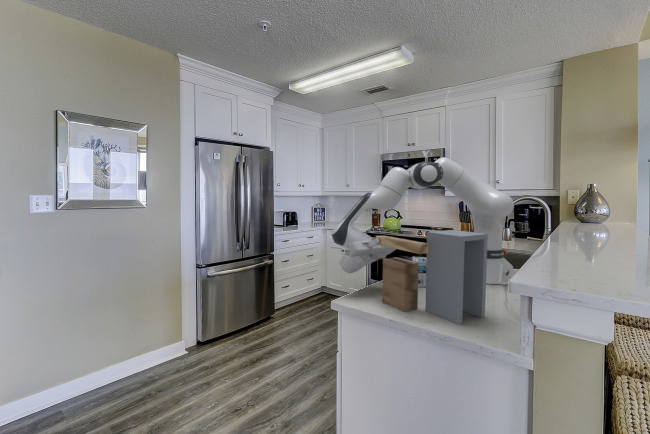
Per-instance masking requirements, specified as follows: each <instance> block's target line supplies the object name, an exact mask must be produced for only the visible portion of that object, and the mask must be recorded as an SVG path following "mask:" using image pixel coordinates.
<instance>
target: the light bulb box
mask: <svg viewBox="0 0 650 434" xmlns="http://www.w3.org/2000/svg"><path fill="white" fill-rule="evenodd" d="M426 258H427V256H426V257H425V256H412V258H411V261H413V262H417V263H418V288H419V287H420V288H426Z"/></svg>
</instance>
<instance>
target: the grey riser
mask: <svg viewBox="0 0 650 434" xmlns="http://www.w3.org/2000/svg"><path fill="white" fill-rule="evenodd" d="M487 240H488V234H483V233H474V231H466V230H465V231H463V230H458V231H457V230H455V229H448V230H438V231H437V230H436V231H426V243H427V244H428V253H426V257H427V258H426V287H425V306H424V307H425V311H426V312H427V313H430V314H433V315H435V316H438V317H440V318H442V319H445V320H447V321H450V322H452V323H455V324H457V325H462V324H463V312H465V313H468V314H470V315H473V316H476V317H478V318H481V319H482V318H485V317H486V296H487V295H486V294H487V291H486V289H487V283H486V269H487Z"/></svg>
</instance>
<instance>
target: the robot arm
mask: <svg viewBox="0 0 650 434" xmlns="http://www.w3.org/2000/svg"><path fill="white" fill-rule="evenodd" d="M436 183H438V184H440V185H442V186H443V187H444V188H445V189H446V190H448V191H449V192H450V193H452V194H453V195H454V196H455V197H457V198H458V199H459V200H461V201H463V202H465V203H467V208H468V210H469V212H470V214H471V220H472V224H473V225H472V226H473V232H474V233H483V234H488V240H487V269H486V285H488V284H490V285H502V286H508V285H509V284H508V281H509V279H510V278H511V277H512V276H513V275H514V266H513V265H512V264H511V263H510V261H508V260H507V259H506V258H505V255H507V254H508V249H504V248H502V247H503V230H502V228H501V227H500V224H499V221H498V219H501V218H506V217H507V216H509V215H511V213H513V211H514V209H515V204H514V200H513V198H512V197H511V196H510V195H508V194H506V193H504V192H502V191H500V190H498V189H496V188H495V187H493V186H492V185H490V184H488V183H486V182H484V181H482V180H480V179H479V178H477V177H476V176H475V175H474V174H472V173H471V172H470V171H468V170H467V169H466V168H464V167H463V166H462V165H460V164H459V163H457V162H455V161H454V160H452V159H450V158H447V157H445V156H444V157H440V158H438V159H436V160H435V161H434V162H433V161H422V162H419V163H415V164H413V166H410V167H409V168H408V169H404V168H403V167H400V166H395V167H392V168H391V169H389V171H388V172H387V173H386V175H385V176H384V177H383V179H382V180H381V181H380V183H379V185H378V187H377V188H376V189H375V190H373V191H371V192H366V193H365V194H364V195H363V196H362V197H361V198H360V199H359V200H358V201H357V202H355V204H354V206H353V207H352V208H351V209H350V210H349V212H348V213H346V215H345V216H344V218H342V220H341V221H339V223H338V224H336V226H335V227H334V228H333V230H332V232H331V237H332V240H333V243H335V244H336V245H339V246H341V247H344V248H345V249H347V250H346V251H345V252H344V254H343V256H342V257H341V258H340V260H339V266H340V269H342V270H343V271H344V273H347V274H353V273H355V272H358V271H360V270H361V269H362V268H364V267H366V266H367V265H370V264H372V263H374V262H376V261H380V260H383V259H386V258H387V256H388V255H390V254H391V253H394V251H396V250H397V249H395V248H391V247H386V246H382V245H377V244H379V243H381V240H380V238H376V237H375V238H374V239H373V237H372V236H370V235H368V234H367V233H365V232H364V231H362V230H360V229H358V228H356V227H355V226H354V223H355V222H356V221H357V219H358V218H359V217H360V216H361V215H362V213H363V212H364V211H366V210H368V209H374V210H380V211H390V210H392V209H394V208H396V206H398V204H399V203H400V201H401V200H402V198H403V196H404V195H405V192H406V191H407V190H408V189H411V190H424V189H427V188H430V187H432V186H434V185H436Z"/></svg>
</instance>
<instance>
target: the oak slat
mask: <svg viewBox="0 0 650 434" xmlns="http://www.w3.org/2000/svg"><path fill="white" fill-rule="evenodd" d="M376 238H380V240H381V243H379V244H377V245H382V246H386V247H391V248H395V249H396V250H400V251H405V252H409V253H413V254H418V255H423V254H424V255H425V254H426V255H427V253H428V244H427V242H426V243H425V242H420V241H417V240H410V239H406V238H398V237H394V236H388V235H375V239H376Z"/></svg>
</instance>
